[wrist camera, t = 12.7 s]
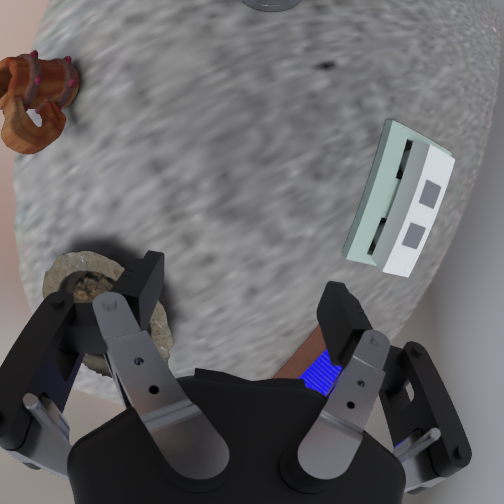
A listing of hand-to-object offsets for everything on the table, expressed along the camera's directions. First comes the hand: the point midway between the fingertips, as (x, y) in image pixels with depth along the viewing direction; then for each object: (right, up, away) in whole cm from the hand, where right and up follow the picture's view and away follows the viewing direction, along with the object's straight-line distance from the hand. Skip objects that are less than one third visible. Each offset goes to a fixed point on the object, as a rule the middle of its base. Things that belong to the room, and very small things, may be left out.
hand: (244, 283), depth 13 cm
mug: (-26, +24, +15) cm, 38 cm away
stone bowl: (-24, -7, +31) cm, 40 cm away
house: (+13, -21, +39) cm, 46 cm away
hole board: (+22, +9, +23) cm, 33 cm away
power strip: (+22, +9, +23) cm, 33 cm away
